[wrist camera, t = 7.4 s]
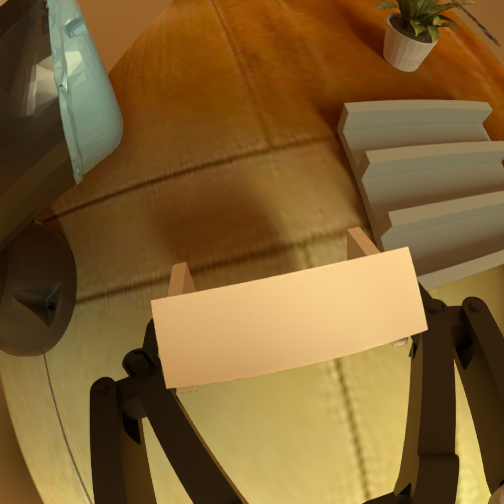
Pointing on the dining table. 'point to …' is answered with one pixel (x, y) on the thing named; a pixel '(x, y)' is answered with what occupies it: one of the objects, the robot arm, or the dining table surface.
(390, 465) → the dining table surface
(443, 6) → the house plant
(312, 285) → the picture frame
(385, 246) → the notched rack
